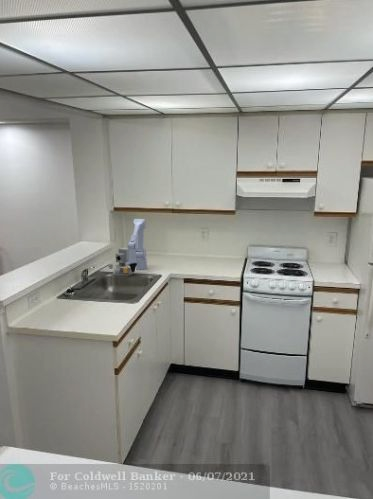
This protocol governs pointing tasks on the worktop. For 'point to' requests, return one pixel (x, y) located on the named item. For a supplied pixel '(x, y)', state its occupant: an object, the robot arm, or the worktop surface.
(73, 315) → the worktop surface
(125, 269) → the toggle
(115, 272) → the breaker panel
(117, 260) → the circuit breaker
